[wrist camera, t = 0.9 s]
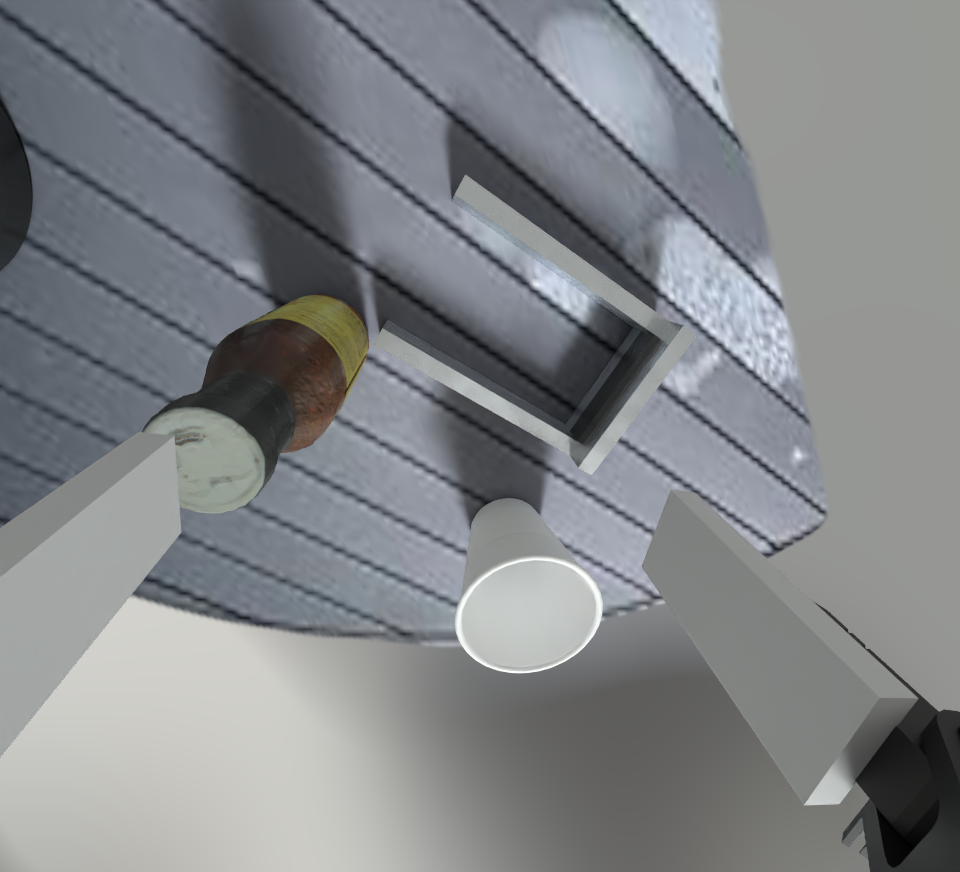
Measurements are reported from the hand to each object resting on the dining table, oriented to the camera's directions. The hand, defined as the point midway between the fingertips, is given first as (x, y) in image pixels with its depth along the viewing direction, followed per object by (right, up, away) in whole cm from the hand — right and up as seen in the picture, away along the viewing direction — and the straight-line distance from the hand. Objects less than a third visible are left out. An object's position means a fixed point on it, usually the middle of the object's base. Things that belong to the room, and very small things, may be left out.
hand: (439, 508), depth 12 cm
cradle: (+4, +10, +22) cm, 24 cm away
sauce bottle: (-10, +9, +21) cm, 25 cm away
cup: (+3, -6, +28) cm, 29 cm away
